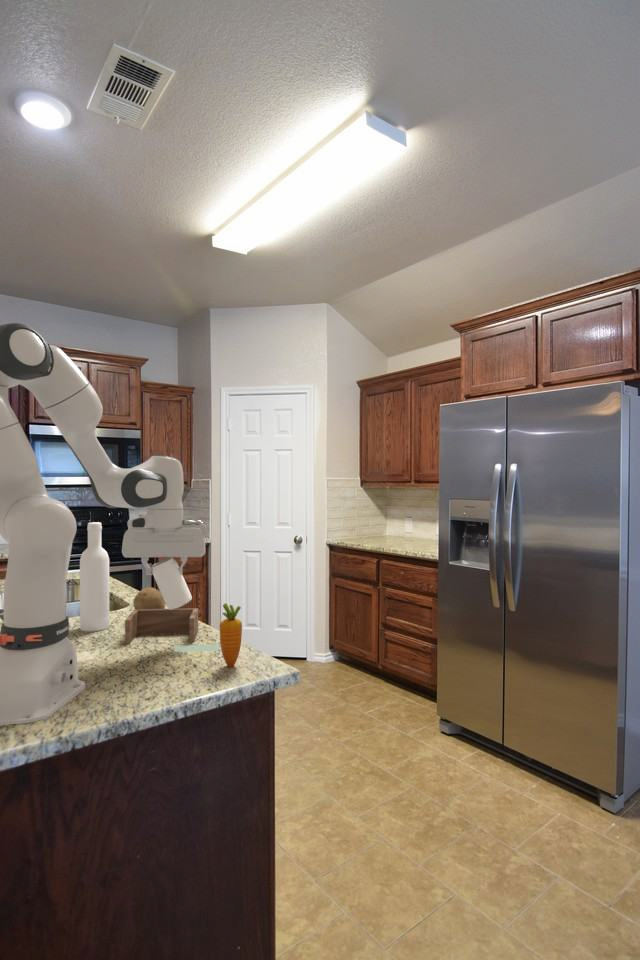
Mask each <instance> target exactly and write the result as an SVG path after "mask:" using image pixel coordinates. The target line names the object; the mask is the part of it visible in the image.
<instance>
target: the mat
mask: <svg viewBox="0 0 640 960" xmlns="http://www.w3.org/2000/svg"><path fill="white" fill-rule="evenodd" d="M220 647H221V643H220V644H219V643H215V644H191V645H189V644H188V645H185V644H183V645H176V646H175V647H174V650H173V653H184V652H190V653H191V652H218V651H220Z"/></svg>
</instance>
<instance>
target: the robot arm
mask: <svg viewBox="0 0 640 960" xmlns="http://www.w3.org/2000/svg"><path fill="white" fill-rule="evenodd" d="M16 386H21V387H24V388H25V389H27V390H28V391H29V392H31V394H32V395H33V396H34V398H35V399H36V401H37V402H38V403H39V405H40V406H41V408H42V409H43V411H44V412H45V413H46V415H47V416H48V417H49V419H50V420H51V421H52V422H53V424H54V425H55V427H56V428H57V429H58V430H59V432H60V434H61V435H62V437H63V438H64V439H63V440H64V441H65V442H66V444H67V446H68V448H69V449H70V450H71V451H72V454H73V455H74V456H75V458H76V460H77V461H78V463H79V464H80V465H81V466H80V467H82V468H83V470H84V472H85V473H86V475H87V477H88V479H89V482H90V487H91V490H92V494H93V496H94V498H95V499H96V501H97V502H98V503H99V504H100V505H101V506H103V507H105V508H108V509H117V508H118V509H120V508H122V509H123V508H124V509H142V508H146V513H145V514H139V515H138V516H135V517H131V518H130V519H128V521H127V523H126V524H127V528H128V529H127V530H125V532H124V534H123V539H122V544H121V545H122V546H121V553H122V556H123V557H124V558H126V559H127V558H130V559H131V558H140V559H141V561H140V562H141V564H142V565H143V567H144V569H145V576H153V573H152V567H150V565H149V564H148V561H149V558H170V557H173V558H180V562H182V563H181V564H180V566H179V568H178V570H179V572H180V574H181V575H183V567H184V566H185V565H186V563H187V561H188V558H202V557H203V556H205V555H206V541H205V540H206V539H205V538H206V536H207V535H208V526H207V524H206V523H205V522H203V521H202V520H201V519H199V520H198V519H197V520H189V519H184V504H183V495H184V492H185V491H184V489H185V488H184V487H185V486H184V482H185V481H184V471H183V470H184V469H183V465H182V463H181V461H180V460H179V459H177V458H175V457H172V456H169V455H160V454H159V455H158V454H155V455H152V456H150V457H149V458H148V459H147V460H146V461H144V462H142V463H141V464H138V465H136V466H133V467H130V468H123V467H119V466H118V465H116V464H114V463H113V462H112V461H111V459H110V457H109V455H107V453H106V451H105V449H104V447H103V446H102V445H101V443H100V441H99V440H98V438H97V435H96V428H97V426H98V425H99V424H100V422H101V420H102V417H103V412H104V411H103V410H104V409H103V408H104V407H103V404H102V402H101V399H100V397H99V394H98V393H97V391H96V390H95V388H94V387H93V386H92V384H91V382H90V381H89V380H88V378H87V376H86V375H85V374H84V373H83V372H82V371H81V369H80V368H79V366H77V364H75V362H74V361H73V360H72V359H71V358H70V356H68V355H67V354H66V353H65V352H64V351H63V350H62V349H61V348H60V347H58V346H56V345H53V344H49V343H48V342H47V341H46V339H44V337H43V336H42V335H41V334H40V333H39V332H38V331H37V330H35V329H33V327H30V326H29V325H27V324H24V323H19V322H11V323H4V324H0V536H1V537H2V539H3V540H4V541H5V542H7V544H8V545H9V546H8V558H7V559H8V560H7V565H6V573H5V578H4V581H3V623H1V627H0V727H2V726H3V725H5V726H10V725H9V724H17V725H23V724H22V723H25V724H28V723H29V724H30V722H31V723H35V721H36V722H39V721H38V720H40V721H43V720H46V719H47V717H48V718H49V717H50V716H52V715H53V714H54V713H55V712H57V711H58V710H60V709H61V708H62V707H63V706H65V705H66V704H67V703H69V702H70V701H71V700H73V699H74V698H75V697H76V696H78V695H79V694H81V693H82V692H83V691H84V690H85V689H86V688H87V685H86V681H83V680H81V679H79V670H78V668H79V667H78V655H77V647H76V646H75V645H74V644H73V643H72V641H70V639H69V634H70V621H69V620H70V619H69V617H68V616H67V579H68V578H67V577H68V571H69V566H70V565H69V564H70V560H71V554H72V548H73V541H74V539H75V537H76V534H77V530H78V529H77V527H78V526H77V521H76V517H75V516H74V514H73V512H72V511H71V510H70V508H69V507H68V506H67V505H66V504H65V503H63V502H62V501H60V500H58V499H56V498H52V497H51V496H50V495H49V493H48V491H47V488H46V485H45V483H44V479H43V476H42V474H41V470H40V467H39V461H38V460H39V459H38V458H37V456H36V453H35V451H34V449H33V448H32V445H31V443H30V441H29V439H28V437H27V434H26V433H25V432H24V431H25V430H24V429H23V427H22V425H21V423H20V422H19V419H18V418H17V415H16V413H15V412H14V410H13V408H12V407H11V404H10V401H9V389H10V388H14V387H16Z"/></svg>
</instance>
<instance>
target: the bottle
mask: <svg viewBox="0 0 640 960" xmlns="http://www.w3.org/2000/svg"><path fill="white" fill-rule="evenodd" d="M86 530H87V548H86V549H85V550H84V551H83V552H82V553H81V555H80V559H79V630H81V631H82V632H85V633H86V632H87V633H89V632H99V631H104V630H106V629H108V628H109V627H110V622H111V621H110V620H111V618H110V617H111V616H110V557H109V554H108V552H107V551H108V550H107V551H106V550H105V548H103V547H102V531H103V526H102V522H99V521H97V522H95V521H92V522H88V523H87V528H86Z"/></svg>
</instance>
